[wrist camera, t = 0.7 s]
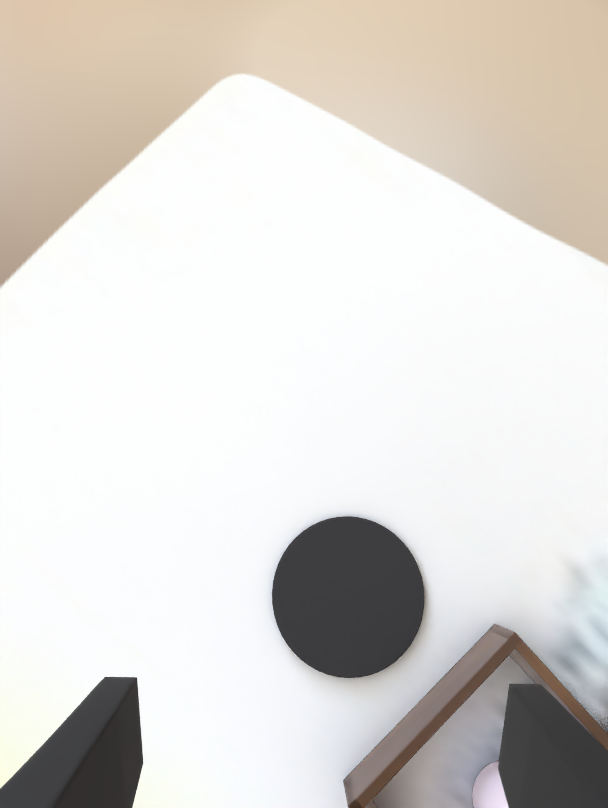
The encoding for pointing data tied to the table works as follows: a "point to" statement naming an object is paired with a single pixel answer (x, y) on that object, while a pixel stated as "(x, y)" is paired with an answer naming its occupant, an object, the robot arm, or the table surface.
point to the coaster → (348, 597)
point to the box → (447, 701)
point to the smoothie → (489, 789)
